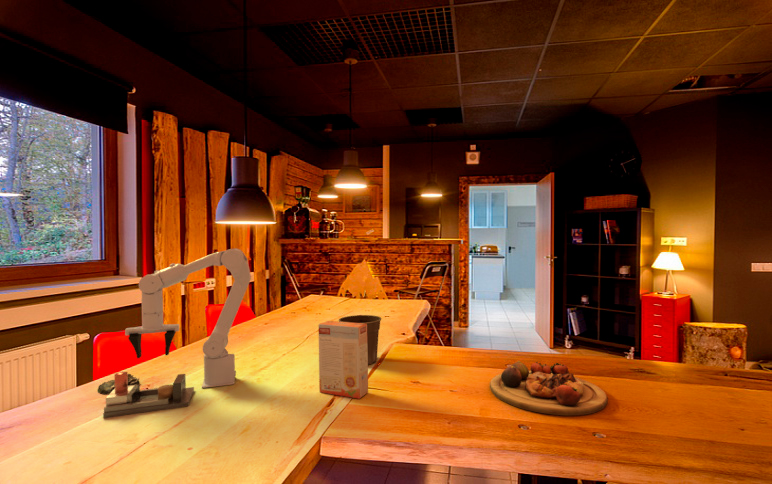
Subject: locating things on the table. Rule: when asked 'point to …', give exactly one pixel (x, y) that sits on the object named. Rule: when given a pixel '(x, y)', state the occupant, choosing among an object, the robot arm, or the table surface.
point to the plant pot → (368, 332)
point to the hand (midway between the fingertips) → (153, 355)
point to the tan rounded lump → (165, 392)
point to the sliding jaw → (122, 391)
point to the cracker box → (343, 359)
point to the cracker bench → (154, 400)
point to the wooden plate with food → (547, 390)
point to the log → (110, 385)
